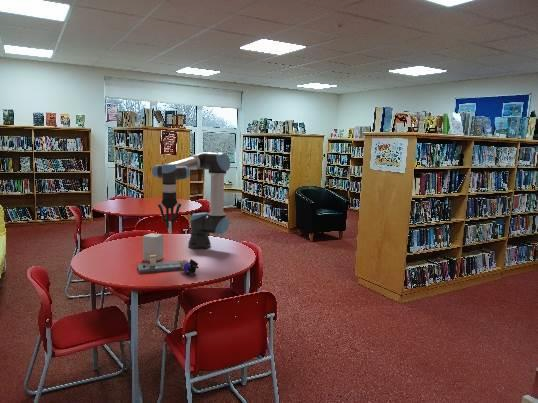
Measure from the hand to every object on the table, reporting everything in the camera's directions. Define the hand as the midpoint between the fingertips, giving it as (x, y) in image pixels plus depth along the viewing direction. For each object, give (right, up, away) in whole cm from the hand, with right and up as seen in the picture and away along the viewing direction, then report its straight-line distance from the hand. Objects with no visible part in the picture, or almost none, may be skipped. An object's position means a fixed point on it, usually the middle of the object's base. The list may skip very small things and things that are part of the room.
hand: (170, 233), depth 231 cm
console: (-4, -20, +1) cm, 20 cm away
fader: (-9, -18, -1) cm, 20 cm away
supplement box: (-15, -17, +18) cm, 29 cm away
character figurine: (+12, -22, -7) cm, 26 cm away
